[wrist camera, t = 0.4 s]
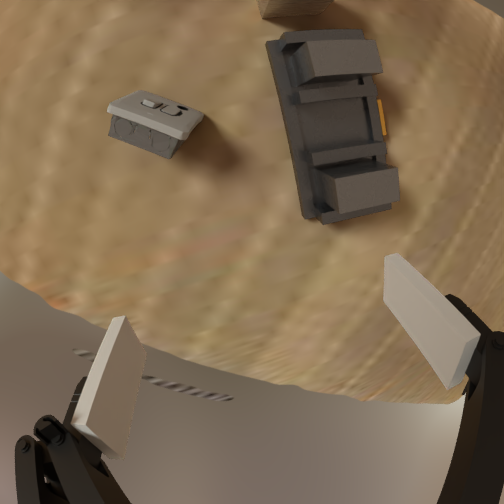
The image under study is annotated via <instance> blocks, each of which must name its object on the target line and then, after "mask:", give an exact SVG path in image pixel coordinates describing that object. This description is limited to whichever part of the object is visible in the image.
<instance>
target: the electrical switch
mask: <svg viewBox="0 0 504 504" xmlns="http://www.w3.org/2000/svg"><path fill="white" fill-rule="evenodd" d="M107 112H108V113H111V114H113V117H112V119H111V127H110V131H109V134H108V136H110V137H113V138H116V139H118V140H121V141H124V142H126V143H129V144H132V145H134V146H137V147H139V148H142V149H145V150H147V151H150V152H152V153H155V154H157V155H160V156H162V157H165V158H167V159H171V158H172V156H173V155H174V154H175V152H176V151H177V150H178V149H179V147H180V146H181V145H182V144H183V142H184V141H185V140H186V139H187V138H188V137H189V133H190V132H191V131H192V130H193V129H194V128H195V126H196V125H197V124H198V123H199V122H201V121H202V119H203V116H204V114H203V113H202V112H200V111H197V110H195V109H192V108H190V107H187V106H185V105H182V104H179V103H177V102H174V101H172V100H169V99H166V98H163V97H161V96H158V95H155V94H152V93H149V92H146V91H143V90H138V91H136V92H134V93H131V94H129V95H126V96H124V97H122V98H120V99H117V100H115V101H113V102H111V103H110V104H109V106H108V109H107ZM136 126H137V127H136ZM134 131H135V133H134ZM149 131H151V132H149ZM150 134H151V137H150V139H149V136H150ZM120 136H121V137H120ZM171 154H172V155H171ZM170 157H171V158H170Z"/></svg>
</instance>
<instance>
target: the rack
mask: <svg viewBox="0 0 504 504" xmlns="http://www.w3.org/2000/svg"><path fill="white" fill-rule="evenodd" d="M265 46H266V49H267V53H268V57H269V61H270V65H271V69H272V73H273V77H274V81H275V85H276V89H277V94H278V98H279V102H280V106H281V111H282V115H283V120H284V124H285V129H286V134H287V138H288V143H289V148H290V153H291V158H292V163H293V168H294V173H295V179H296V184H297V189H298V195H299V200H300V206H301V212H302V216H303V217H304V219H309V218H314V217H316V218H317V219H318V220H319V221H320V222H321V223H322V224H323V225H325V224H329V223H333V222H338V221H342V220H346V219H350V218H355V217H359V216H363V215H368V214H372V213H376V212H381V211H385V210H389V209H391V203H392V202H396V201H400V191H399V177H398V168H397V167H394V166H391V165H388V164H386V158H385V154H387V150H386V142H383V135H387V134H386V127H385V121H384V115H383V109H382V103H381V100H377V98H376V96H378V93H377V88H376V84H374V83H373V79H372V75H376V74H380V73H383V70H382V65H381V61H380V57H379V53H378V49H377V45H376V42H375V40H365V38H364V34H363V31H362V29H325V30H306V31H294V32H284V33H283V34H282V36H281V37H280V39H279V40H273V41H267V42H266V44H265Z"/></svg>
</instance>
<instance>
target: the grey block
mask: <svg viewBox="0 0 504 504" xmlns="http://www.w3.org/2000/svg"><path fill="white" fill-rule="evenodd" d="M333 1H334V0H257V4H258V7H259V10H260V14H261V17H262V19H264V18H272V17H282V16H294V15H311V14H321V13H322V12H323V11H324V10H325V9H326V8H327V7H328V6H329V5H330V4H331V3H332V2H333Z"/></svg>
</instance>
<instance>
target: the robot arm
mask: <svg viewBox="0 0 504 504" xmlns="http://www.w3.org/2000/svg"><path fill="white" fill-rule="evenodd" d="M383 301H384V303H385V304H386V305H387V306H388V308H389V309H390V310H391V312H392V313H393V314H394V316H395V317H396V318H397V320H398V321H399V322H400V324H401V325H402V326H403V328H404V329H405V330H406V332H407V333H408V334H409V336H410V337H411V339H412V340H413V341H414V343H415V344H416V345H417V347H418V348H419V350H420V351H421V353H422V354H423V355H424V357H425V358H426V360H427V361H428V363H429V364H430V365H431V367H432V368H433V370H434V371H435V373H436V374H437V376H438V377H439V379H440V380H441V382H442V383H443V385H444V386H445V388H446V389H447V390H448V389H450V388H452V387H454V386H456V385H458V384H459V383H461V382H462V380H463V377H464V375H465V373H466V375H467V376H468V377H469V380H468V382H467V384H466V387H465V389H464V391H463V393H462V395H464V394H465V392H466V397H465V403H464V409H463V415H462V419H461V424H460V429H459V433H458V438H457V442H456V446H455V450H454V453H453V457H452V460H451V464H450V467H449V471H448V474H447V477H446V480H445V483H444V485H443V488H442V491H441V494H440V496H439V499H438V502H437V504H499V500H500V496H501V493H502V488H503V484H504V332H500V331H494V332H492V331H491V330H490V329H489V328H488V327H487V325H486V324H485V323H484V322H483V321H482V320H481V319H480V318H479V317H478V316H477V315H476V314H475V313H474V312H472V310H471V309H470V308H469V307H467V305H466V304H465V303H464V302H463V301H462V300H461V299H459V298H457V297H455V296H453V295H451V294H448V295H446V296H443V295H442V294H441V293H440V292H439V291H438V290H437V289H436V288H435V287H434V286H433V285H432V284H431V283H430V282H429V281H428V280H427V279H426V278H425V277H424V276H423V275H421V274H420V273H419V272H418V271H417V270H416V269H415V268H414V267H413V266H412V265H411V264H410V263H408V262H407V261H406V260H405V259H404V258H403V257H402V256H401V255H399V254H398V253H394V254H391V255H387V256H385V264H384V296H383ZM146 357H147V353H146V352H145V350H144V348H143V346H142V345H141V343H140V341H139V339H138V338H137V336H136V334H135V332H134V330H133V328H132V327H131V325H130V323H129V321H128V319H127V317H126V315H125V316H120V317H114V318H113V319H112V321H111V324H110V326H109V328H108V330H107V333H106V335H105V337H104V339H103V341H102V344H101V346H100V348H99V351H98V353H97V355H96V358H95V360H94V363H93V365H92V367H91V370H90V372H89V375H88V377H83V378H82V380H81V381H80V382H79V383H78V385H77V387H76V390H75V392H74V395H73V397H72V400H71V401H72V402H71V403H70V405H69V408H68V410H67V413H66V416H65V419H64V422H63V424H61V423H60V422H59V421H58V420H57V419H56V418H55V417H54V416H52V415H46V416H43V417H42V418H40V419H39V420H38V421H37V423H36V424H35V427H34V435H35V436H36V437H37V438H39V439H40V440H41V441H36V440H35V439H34V438H32V437H31V436H29V435H25V436H22V437H21V438H20V439H19V440H18V441H17V443H16V446H15V475H16V489H17V499H18V504H131V503H130V501H129V500H128V498H127V497H126V496H125V494H124V493H123V491H122V490H121V488H120V486H119V485H118V483H117V482H116V480H115V479H114V477H113V475H112V474H111V472H110V471H109V469H108V467H107V466H106V464H105V462H104V461H103V460H102V459H101V454H102V453H103V454H105V455H106V456H107V457H108V458H111V459H122V460H124V459H125V453H126V447H127V442H128V437H129V431H130V427H131V422H132V417H133V412H134V407H135V403H136V398H137V394H138V389H139V385H140V381H141V377H142V373H143V369H144V364H145V361H146ZM44 477H46V479H47V483H45V479H44Z"/></svg>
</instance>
